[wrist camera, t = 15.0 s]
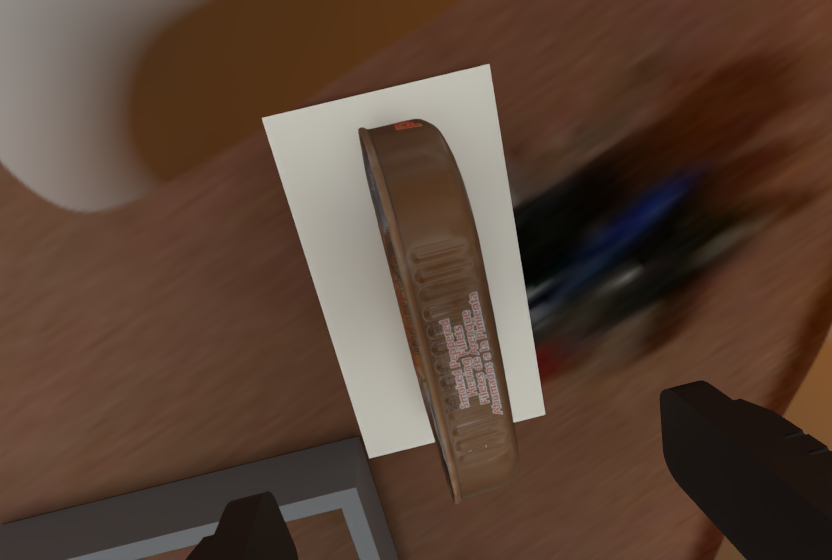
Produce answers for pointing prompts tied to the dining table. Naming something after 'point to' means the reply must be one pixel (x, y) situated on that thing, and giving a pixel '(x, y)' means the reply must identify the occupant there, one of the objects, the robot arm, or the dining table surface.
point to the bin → (210, 509)
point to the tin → (443, 302)
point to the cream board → (364, 252)
